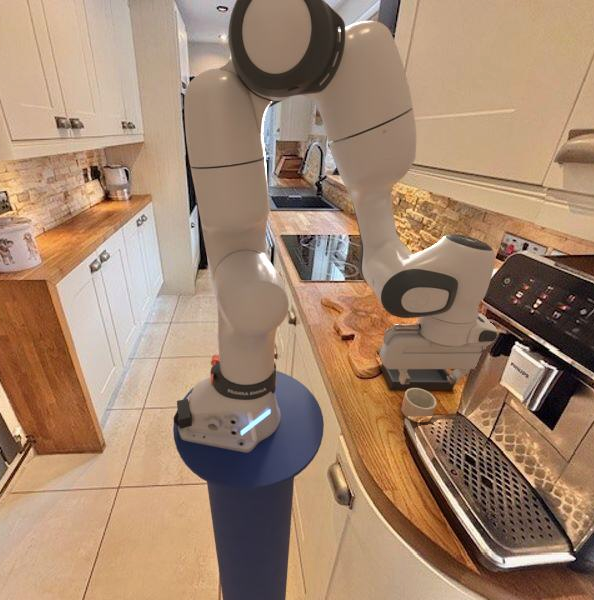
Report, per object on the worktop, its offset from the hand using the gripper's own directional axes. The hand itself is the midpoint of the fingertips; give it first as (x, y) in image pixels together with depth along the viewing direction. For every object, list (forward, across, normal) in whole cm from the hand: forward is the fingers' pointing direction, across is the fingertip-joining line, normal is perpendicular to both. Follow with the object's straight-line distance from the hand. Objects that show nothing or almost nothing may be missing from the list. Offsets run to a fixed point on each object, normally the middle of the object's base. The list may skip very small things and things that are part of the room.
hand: (427, 382), depth 65 cm
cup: (+9, 0, 0) cm, 9 cm away
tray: (+9, +3, +13) cm, 16 cm away
